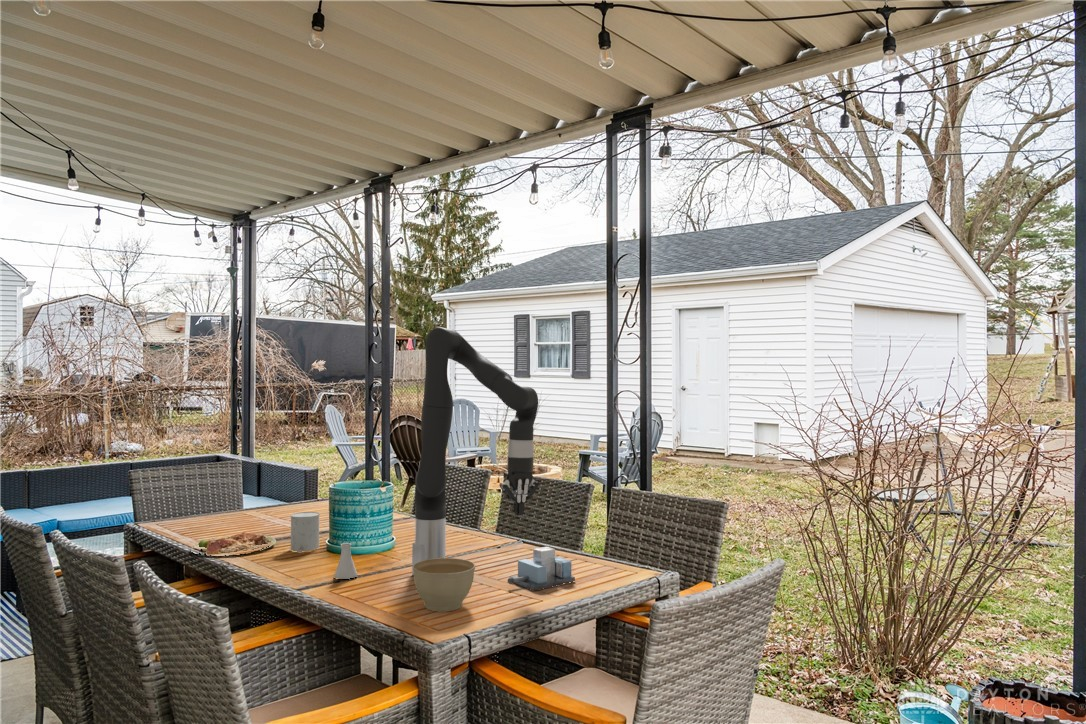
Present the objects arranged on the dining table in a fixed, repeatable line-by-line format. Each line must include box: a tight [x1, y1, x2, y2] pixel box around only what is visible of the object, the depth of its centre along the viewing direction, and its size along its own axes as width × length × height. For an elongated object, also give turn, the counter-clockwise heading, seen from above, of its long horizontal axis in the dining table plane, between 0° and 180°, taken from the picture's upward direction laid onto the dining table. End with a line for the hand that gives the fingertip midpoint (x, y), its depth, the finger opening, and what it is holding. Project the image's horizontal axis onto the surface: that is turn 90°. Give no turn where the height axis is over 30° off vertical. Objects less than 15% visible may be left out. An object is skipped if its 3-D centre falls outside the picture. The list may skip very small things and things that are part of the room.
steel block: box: [532, 546, 556, 578], centre depth 212 cm, size 5×4×8 cm
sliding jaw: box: [507, 558, 547, 585], centre depth 208 cm, size 10×10×5 cm
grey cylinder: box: [290, 511, 320, 552], centre depth 251 cm, size 10×10×12 cm
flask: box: [333, 542, 358, 580], centre depth 216 cm, size 7×7×10 cm
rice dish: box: [191, 531, 277, 554], centre depth 253 cm, size 28×28×5 cm
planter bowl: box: [413, 557, 476, 613], centre depth 189 cm, size 16×16×11 cm
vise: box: [509, 555, 576, 592], centre depth 212 cm, size 15×12×6 cm
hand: (518, 515), depth 209 cm, fingers closed
